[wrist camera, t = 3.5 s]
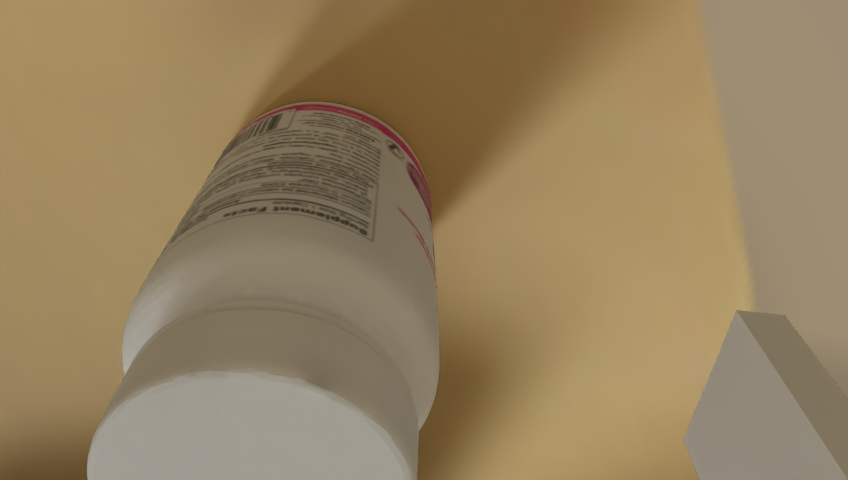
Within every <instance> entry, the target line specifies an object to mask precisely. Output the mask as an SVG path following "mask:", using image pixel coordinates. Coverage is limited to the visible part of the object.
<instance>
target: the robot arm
mask: <svg viewBox="0 0 848 480" xmlns="http://www.w3.org/2000/svg"><path fill="white" fill-rule="evenodd" d="M683 442H684V444H685V446H686V449H687V451H688V453H689V456H690V458H691V460H692V463H693V465H694V467H695V470H696V472H697V474H698V477H699V479H700V480H848V399H847V398H846V396H845V395H844V393H843V392H842V391H841V389H840V388H839V387H838V385H837V384H836V383H835V381H834V380H833V379H832V378H831V376H830V375H829V373H828V372H827V371H826V369H825V368H824V367H823V365H822V364H821V363H820V361H819V360H818V359H817V357H816V356H815V355H814V354H813V352H812V351H811V350H810V348H809V347H808V345H807V344H806V343H805V342H804V340H803V339H802V337H801V336H800V335H799V334H798V332H797V331H796V330H795V328H794V327H793V326H792V324H791V323H790V322H789V320H788V319H787V318H786V316H785V315H778V314H768V313H758V312H748V311H738V310H736V313H735V315H734V318H733V320H732V323H731V325H730V328H729V330H728V332H727V335H726V337H725V340H724V342H723V345H722V347H721V349H720V352H719V354H718V357H717V359H716V362H715V364H714V367H713V369H712V371H711V374H710V376H709V379H708V381H707V384H706V386H705V388H704V391H703V393H702V396H701V398H700V401H699V403H698V405H697V408H696V410H695V413H694V415H693V418H692V420H691V423H690V425H689V427H688V430H687V432H686V435H685V437H684V440H683Z"/></svg>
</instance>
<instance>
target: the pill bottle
mask: <svg viewBox="0 0 848 480" xmlns="http://www.w3.org/2000/svg"><path fill="white" fill-rule="evenodd" d="M436 289H437V287H436V277H435V260H434V244H433V231H432V217H431V201H430V194H429V188H428V184H427V180H426V177H425V174H424V171H423V169H422V167H421V165H420V163H419V161H418V159H417V157H416V155H415V154H414V152H413V151H412V149H411V148H410V146H409V145H408V144H407V143H406V142H405V140H404V139H403V138H402V137H401V136H400V135H399V134H398V133H397V132H396V131H395V130H393V129H392V128H391V127H390V126H389V125H387V124H386V123H384V122H383V121H381V120H380V119H378V118H376V117H374V116H372V115H370V114H368V113H366V112H364V111H361V110H358V109H355V108H352V107H349V106H345V105H342V104H337V103H330V102H315V101H312V102H299V103H293V104H288V105H285V106H281V107H279V108H276V109H274V110H271V111H269V112H267V113H265V114H263V115H261V116H259V117H258V118H256V119H255V120H253V121H252V122H251V123H249V124H248V125H247V126H246V127H244V128H243V129H242V130H241V131H240V132H239V133H238V134H237V135H236V136H235V138H234V139H233V140H232V141H231V142H230V143H229V145H228V146H227V147H226V149H225V150H224V151H223V153H222V155H221V156H220V158H219V160H218V161H217V162H216V164H215V167H214V168H213V170H212V172H211V173H210V175H209V176H208V178H207V179H206V181H205V183H204V185H203V186H202V188H201V190H200V191H199V193H198V195H197V196H196V198H195V199H194V201H193V203H192V204H191V206H190V208H189V209H188V211H187V212H186V214H185V216H184V217H183V219H182V221H181V222H180V224H179V226H178V227H177V229H176V231H175V232H174V234H173V235H172V237H171V239H170V240H169V242H168V243H167V245H166V247H165V248H164V250H163V252H162V254H161V255H160V257H159V258H158V259H157V261H156V263H155V265H154V266H153V268H152V270H151V271H150V273H149V275H148V276H147V278H146V280H145V281H144V283H143V285H142V287H141V288H140V290H139V292H138V294H137V296H136V298H135V300H134V302H133V305H132V307H131V310H130V313H129V315H128V318H127V321H126V324H125V329H124V335H123V342H122V363H123V371H124V378H123V380H122V382H121V383H120V385H119V386H118V388H117V390H116V392H115V394H114V396H113V398H112V400H111V402H110V404H109V406H108V408H107V410H106V412H105V414H104V416H103V418H102V420H101V422H100V424H99V425H98V427H97V429H96V431H95V433H94V436H93V439H92V441H91V446H90V450H89V455H88V461H87V478H88V480H417V469H418V447H419V431H420V429H421V428H422V426H423V424H424V423H425V421H426V419H427V417H428V415H429V412H430V410H431V407H432V405H433V402H434V399H435V395H436V391H437V386H438V380H439V373H440V344H439V325H438V308H437V290H436Z"/></svg>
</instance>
